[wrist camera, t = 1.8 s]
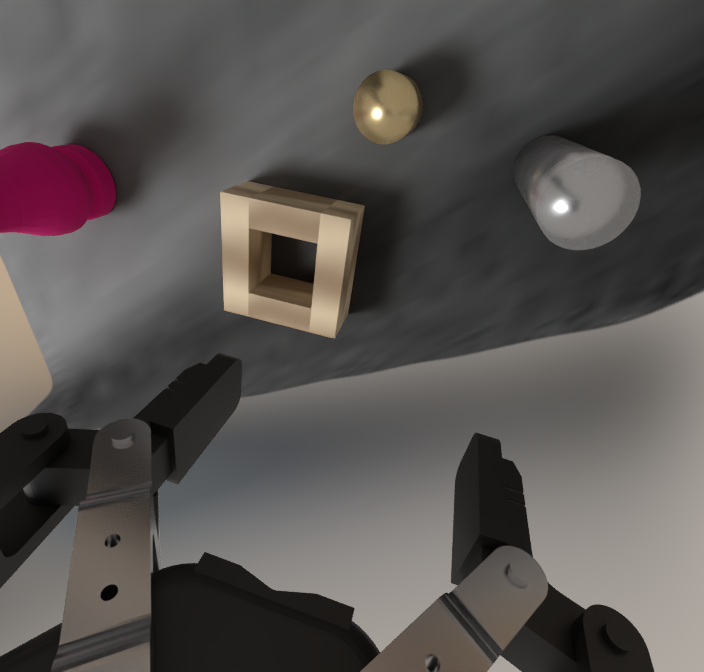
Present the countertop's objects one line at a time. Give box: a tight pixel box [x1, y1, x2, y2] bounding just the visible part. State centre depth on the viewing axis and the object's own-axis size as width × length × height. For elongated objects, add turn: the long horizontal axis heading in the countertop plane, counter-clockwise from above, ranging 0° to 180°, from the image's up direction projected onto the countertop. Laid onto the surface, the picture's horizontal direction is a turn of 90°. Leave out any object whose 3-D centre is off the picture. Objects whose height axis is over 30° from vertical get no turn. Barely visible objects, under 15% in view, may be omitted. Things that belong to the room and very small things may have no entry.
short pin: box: [353, 70, 423, 144], centre depth 27 cm, size 4×4×4 cm
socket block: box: [220, 181, 365, 338], centre depth 33 cm, size 10×10×4 cm
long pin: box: [513, 135, 641, 250], centre depth 23 cm, size 4×4×12 cm
